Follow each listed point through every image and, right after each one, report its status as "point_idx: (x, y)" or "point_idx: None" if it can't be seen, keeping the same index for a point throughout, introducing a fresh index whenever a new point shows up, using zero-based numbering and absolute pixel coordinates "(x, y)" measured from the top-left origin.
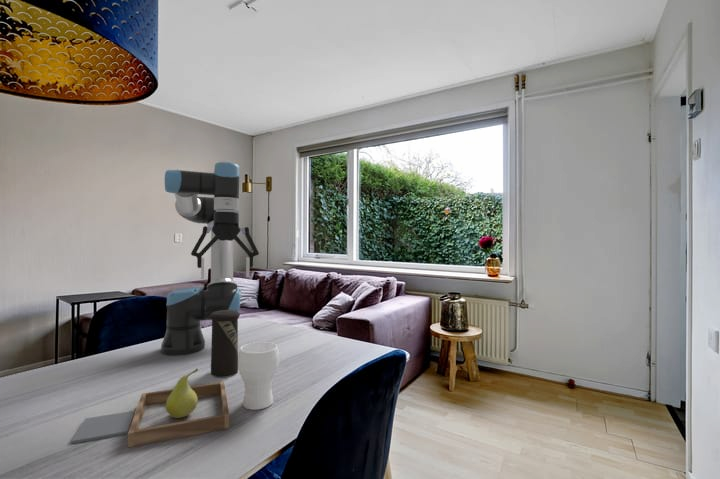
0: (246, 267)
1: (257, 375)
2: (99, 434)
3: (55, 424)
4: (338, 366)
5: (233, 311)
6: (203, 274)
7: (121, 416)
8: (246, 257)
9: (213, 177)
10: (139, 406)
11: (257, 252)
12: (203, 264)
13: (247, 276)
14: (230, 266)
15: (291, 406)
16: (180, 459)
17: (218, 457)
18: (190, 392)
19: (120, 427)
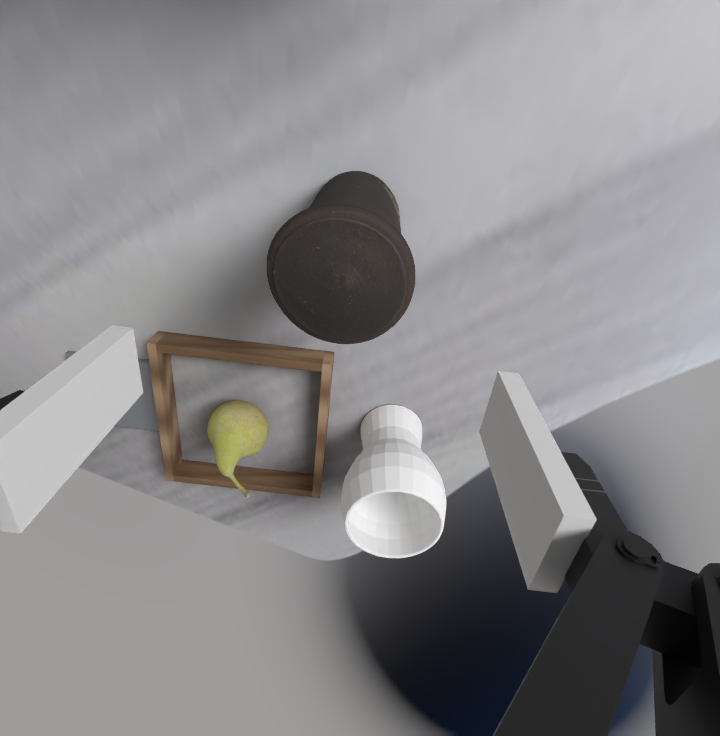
0: (512, 452)
1: (377, 514)
2: (118, 422)
3: (16, 339)
4: (682, 338)
5: (382, 291)
6: (121, 413)
7: None
8: (552, 531)
9: None
10: (158, 401)
11: (696, 668)
12: (65, 476)
13: (485, 437)
14: None
15: (444, 467)
16: (251, 515)
17: (299, 531)
18: (248, 453)
19: (145, 415)
